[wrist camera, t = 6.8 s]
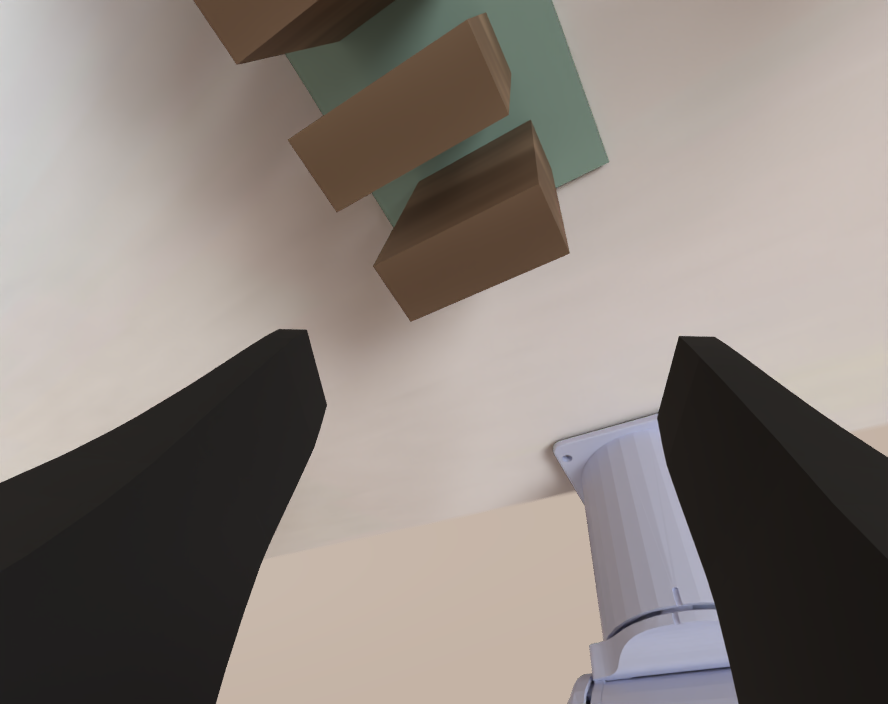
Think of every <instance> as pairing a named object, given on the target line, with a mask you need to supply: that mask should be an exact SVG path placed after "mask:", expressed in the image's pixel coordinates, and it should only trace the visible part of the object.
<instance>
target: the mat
mask: <svg viewBox="0 0 888 704" xmlns="http://www.w3.org/2000/svg"><path fill="white" fill-rule="evenodd" d="M483 13H487V16H488V18H489V21H490V23H491V25H492V28H493V30H494V33H495V35H496V37H497V40H498V42H499V44H500V47H501V49H502V52H503V54H504V56H505V59H506V61H507V64H508V66H509V68H510V71H511V89H510V105H509V115H508V116H506V117H504V118H502V119H501V120H499V121H497V122H495V123H494V124H492V125H490V126H488V127H487V128H485V129H483V130H481V131H480V132H478V133H476V134H474V135H473V136H471V137H469V138H467V139H465V140H464V141H462V142H460V143H458V144H457V145H455V146H453V147H451V148H450V149H448V150H446V151H444V152H443V153H441V154H439V155H437V156H435V157H434V158H432V159H430V160H428V161H427V162H425V163H423V164H421V165H420V166H418V167H416V168H414V169H413V170H411V171H409V172H407V173H405V174H404V175H402V176H400V177H398V178H397V179H395V180H393V181H391V182H390V183H388V184H386V185H384V186H383V187H381V188H379V189H377V190H376V191H374V192H372V194H373V196H374V197H375V199H376V200H377V202H378V204H379V205H380V207H381V208H382V210H383V212H384V213H385V215H386V216H387V218H388V220H389V221H390V223H391V224H392V226H393V228H394V227H395V225H396V223H397V221H398V219H399V217H400V215H401V214H402V212H403V210H404V208H405V206H406V204H407V202H408V201H409V199H410V197H411V195H412V193H413V191H414V189H415V188H416V186H417V184H418V182H419V181H421V180H423V179H424V178H426V177H428V176H430V175H432V174H433V173H435V172H437V171H439V170H441V169H442V168H444V167H446V166H448V165H450V164H451V163H453V162H455V161H457V160H459V159H460V158H462V157H464V156H466V155H468V154H469V153H471V152H473V151H475V150H477V149H478V148H480V147H482V146H484V145H486V144H487V143H489V142H491V141H493V140H495V139H496V138H498V137H500V136H502V135H504V134H505V133H507V132H509V131H511V130H513V129H514V128H516V127H518V126H520V125H522V124H523V123H525V122H527V121H529V120H531V121H532V124H533V126H534V128H535V131H536V133H537V135H538V138H539V140H540V143H541V145H542V147H543V150H544V152H545V155H546V157H547V159H548V162H549V164H550V166H551V169H552V173H553V178H554V182H555V187H556V188H557V187H559V186H561V185H563V184H565V183H567V182H569V181H571V180H573V179H576V178H578V177H580V176H582V175H584V174H586V173H588V172H590V171H592V170H594V169H596V168H598V167H600V166H602V165H604V164H606V163H608V162H609V160H608V157H607V155H606V152H605V149H604V146H603V143H602V140H601V138H600V135H599V132H598V129H597V126H596V123H595V121H594V118H593V115H592V112H591V109H590V107H589V104H588V101H587V98H586V95H585V92H584V90H583V87H582V84H581V81H580V78H579V76H578V73H577V70H576V67H575V64H574V61H573V59H572V56H571V53H570V50H569V47H568V45H567V42H566V39H565V36H564V33H563V30H562V28H561V25H560V22H559V19H558V16H557V13H556V11H555V8H554V5H553V2H552V0H395V1H394V2H392V3H391V4H390V5H388V6H387V7H386V8H384V9H383V10H381V11H380V12H379V13H377V14H376V15H375V16H373V17H372V18H371V19H369V20H368V21H366V22H365V23H364V24H362V25H361V26H360V27H358V28H357V29H356V30H354V31H353V32H351V33H350V34H349V35H347V36H346V37H345V38H343V39H342V40H341V41H339V42H335V43H330V44H326V45H321V46H317V47H313V48H308V49H304V50H299V51H295V52H291V53H286V54H285V55H286V56H287V58H288V59H289V61H290V63H291V64H292V66H293V67H294V69H295V71H296V72H297V74H298V75H299V77H300V79H301V80H302V82H303V83H304V85H305V87H306V88H307V90H308V91H309V93H310V95H311V96H312V98H313V99H314V101H315V103H316V104H317V106H318V107H319V109H320V111H321V112H322V114H323V115H325V114H327V113H328V112H330V111H331V110H333V109H334V108H336V107H337V106H339V105H340V104H342V103H343V102H345V101H346V100H348V99H349V98H351V97H352V96H354V95H355V94H357V93H358V92H360V91H361V90H363V89H364V88H366V87H367V86H369V85H370V84H372V83H373V82H375V81H376V80H378V79H379V78H380V77H382V76H383V75H385V74H386V73H388V72H389V71H391V70H392V69H394V68H395V67H397V66H398V65H400V64H401V63H403V62H404V61H406V60H407V59H409V58H410V57H412V56H413V55H415V54H416V53H418V52H419V51H421V50H422V49H424V48H425V47H427V46H428V45H430V44H431V43H433V42H434V41H436V40H437V39H439V38H440V37H442V36H443V35H444V34H446V33H447V32H449V31H450V30H452V29H453V28H455V27H456V26H458V25H459V24H461V23H462V22H464V21H465V20H467V19H469V18H472V17H475V16H477V15H480V14H483Z"/></svg>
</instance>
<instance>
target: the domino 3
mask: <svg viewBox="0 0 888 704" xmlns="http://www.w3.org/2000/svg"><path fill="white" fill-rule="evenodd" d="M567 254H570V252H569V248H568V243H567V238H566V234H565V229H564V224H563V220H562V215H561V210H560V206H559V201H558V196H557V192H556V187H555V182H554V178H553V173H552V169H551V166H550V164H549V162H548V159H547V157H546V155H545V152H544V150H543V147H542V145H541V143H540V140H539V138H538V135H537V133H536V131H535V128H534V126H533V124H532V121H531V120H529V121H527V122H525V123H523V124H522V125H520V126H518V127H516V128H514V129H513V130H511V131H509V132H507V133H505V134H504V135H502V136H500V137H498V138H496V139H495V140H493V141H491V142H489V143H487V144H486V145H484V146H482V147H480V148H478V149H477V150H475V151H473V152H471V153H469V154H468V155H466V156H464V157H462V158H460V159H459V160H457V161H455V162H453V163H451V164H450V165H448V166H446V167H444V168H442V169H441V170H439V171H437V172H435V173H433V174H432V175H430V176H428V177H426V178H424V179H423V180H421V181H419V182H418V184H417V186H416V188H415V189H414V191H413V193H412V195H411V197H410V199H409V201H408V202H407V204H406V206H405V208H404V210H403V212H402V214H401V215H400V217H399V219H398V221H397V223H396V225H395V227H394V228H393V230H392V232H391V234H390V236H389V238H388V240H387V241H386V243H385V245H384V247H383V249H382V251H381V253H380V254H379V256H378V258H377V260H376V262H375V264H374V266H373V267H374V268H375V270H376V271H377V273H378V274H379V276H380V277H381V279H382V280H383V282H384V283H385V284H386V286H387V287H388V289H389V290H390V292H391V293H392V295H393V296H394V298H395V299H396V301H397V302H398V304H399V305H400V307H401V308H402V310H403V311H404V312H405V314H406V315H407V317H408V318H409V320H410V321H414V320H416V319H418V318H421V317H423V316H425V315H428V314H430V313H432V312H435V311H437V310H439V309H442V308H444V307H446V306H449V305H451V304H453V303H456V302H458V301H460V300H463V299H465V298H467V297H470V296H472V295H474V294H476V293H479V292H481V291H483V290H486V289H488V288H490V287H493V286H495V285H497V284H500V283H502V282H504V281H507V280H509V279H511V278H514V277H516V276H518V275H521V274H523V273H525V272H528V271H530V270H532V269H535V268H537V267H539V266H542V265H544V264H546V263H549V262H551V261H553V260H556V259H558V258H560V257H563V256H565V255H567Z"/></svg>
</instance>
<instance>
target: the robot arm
mask: <svg viewBox="0 0 888 704" xmlns="http://www.w3.org/2000/svg"><path fill="white" fill-rule="evenodd" d="M326 407H327V404H326V400H325V396H324V392H323V389H322V385H321V381H320V377H319V374H318V370H317V366H316V363H315V359H314V355H313V351H312V348H311V344H310V340H309V336H308V333H307V330H292V329H278V330H276V331H274V332H273V333H271V334H269V335H267V336H265V337H264V338H262V339H260V340H259V341H257V342H256V343H254V344H252V345H251V346H249V347H248V348H246V349H245V350H243V351H241V352H240V353H238V354H237V355H235V356H234V357H232V358H231V359H229V360H228V361H226V362H225V363H223V364H221V365H220V366H218V367H217V368H215V369H214V370H212V371H211V372H209V373H207V374H206V375H204V376H203V377H201V378H200V379H198V380H197V381H195V382H194V383H192V384H190V385H189V386H187V387H186V388H184V389H182V390H181V391H179V392H177V393H176V394H174V395H172V396H171V397H169V398H167V399H166V400H164V401H162V402H161V403H159V404H157V405H156V406H154V407H152V408H151V409H149V410H147V411H146V412H144V413H142V414H141V415H139V416H137V417H135V418H134V419H132V420H130V421H128V422H126V423H125V424H123V425H121V426H119V427H117V428H115V429H113V430H112V431H110V432H108V433H106V434H104V435H102V436H100V437H98V438H96V439H94V440H92V441H90V442H88V443H86V444H84V445H82V446H80V447H78V448H76V449H74V450H72V451H70V452H68V453H66V454H64V455H62V456H60V457H58V458H55V459H53V460H51V461H49V462H46V463H44V464H42V465H40V466H37V467H35V468H33V469H31V470H28V471H26V472H24V473H22V474H19V475H17V476H15V477H13V478H10V479H8V480H6V481H4V482H1V483H0V704H216V701H217V697H218V694H219V690H220V687H221V684H222V680H223V677H224V673H225V670H226V667H227V663H228V661H229V657H230V654H231V651H232V648H233V645H234V642H235V639H236V636H237V633H238V629H239V626H240V623H241V620H242V617H243V614H244V611H245V608H246V605H247V602H248V600H249V597H250V594H251V591H252V588H253V585H254V582H255V579H256V576H257V574H258V571H259V568H260V565H261V563H262V561H263V558H264V556H265V553H266V551H267V549H268V546H269V544H270V542H271V539H272V537H273V535H274V533H275V531H276V529H277V527H278V524H279V522H280V520H281V518H282V516H283V514H284V512H285V510H286V507H287V505H288V503H289V501H290V499H291V497H292V495H293V492H294V490H295V488H296V486H297V484H298V482H299V480H300V478H301V475H302V473H303V471H304V469H305V467H306V464H307V462H308V460H309V458H310V456H311V453H312V451H313V449H314V446H315V443H316V440H317V437H318V434H319V431H320V428H321V424H322V421H323V417H324V414H325V410H326ZM553 452H554V455H555V457H556V458H557V460H558V462H559V463H560V465H561V467H562V468H563V470H564V472H565V473H566V475H567V477H568V478H569V480H570V482H571V484H572V485H573V487H574V489H575V490H576V492H577V494H578V495H579V497H580V499H581V500H582V502H583V504H584V505H585V510H586V517H587V524H588V532H589V538H590V546H591V553H592V560H593V568H594V575H595V582H596V590H597V597H598V604H599V611H600V618H601V626H602V633H603V641H602V642H599V643H594V644H591V645H590V646H589V647H590V656H591V666H592V674H584V675H582V676H581V677H579V678H578V679H577V681H576V683H575V685H574V687H573V690H572V693H571V697H570V699H569V701H568V703H567V704H888V457H886V456H885V455H883V454H882V453H880V452H879V451H877V450H875V449H874V448H872V447H871V446H869V445H868V444H866V443H865V442H863V441H862V440H860V439H859V438H857V437H856V436H854V435H852V434H851V433H849V432H848V431H846V430H845V429H843V428H842V427H840V426H839V425H837V424H836V423H834V422H833V421H832V420H830V419H829V418H827V417H826V416H824V415H823V414H821V413H820V412H818V411H817V410H816V409H814V408H813V407H811V406H810V405H809V404H807V403H806V402H804V401H803V400H802V399H800V398H799V397H797V396H796V395H795V394H793V393H792V392H790V391H789V390H788V389H786V388H785V387H784V386H782V385H781V384H780V383H778V382H777V381H775V380H774V379H773V378H771V377H770V376H769V375H767V374H766V373H765V372H763V371H762V370H761V369H759V368H758V367H757V366H755V365H754V364H753V363H751V362H750V361H748V360H747V359H746V358H744V357H743V356H742V355H740V354H739V353H738V352H736V351H735V350H733V349H732V348H731V347H729V346H728V345H726V344H725V343H723V342H722V341H720V340H719V339H717V338H715V337H695V336H679V338H678V342H677V346H676V349H675V353H674V357H673V360H672V364H671V368H670V372H669V375H668V379H667V383H666V387H665V390H664V394H663V398H662V401H661V405H660V409H659V413H658V414H654V415H651V416H647V417H644V418H640V419H636V420H633V421H629V422H626V423H622V424H618V425H615V426H611V427H608V428H604V429H601V430H597V431H593V432H590V433H586V434H583V435H579V436H575V437H572V438H568V439H565V440H561V441H558V442H556V443H555V444H554V446H553ZM565 455H569V456H565Z"/></svg>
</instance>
